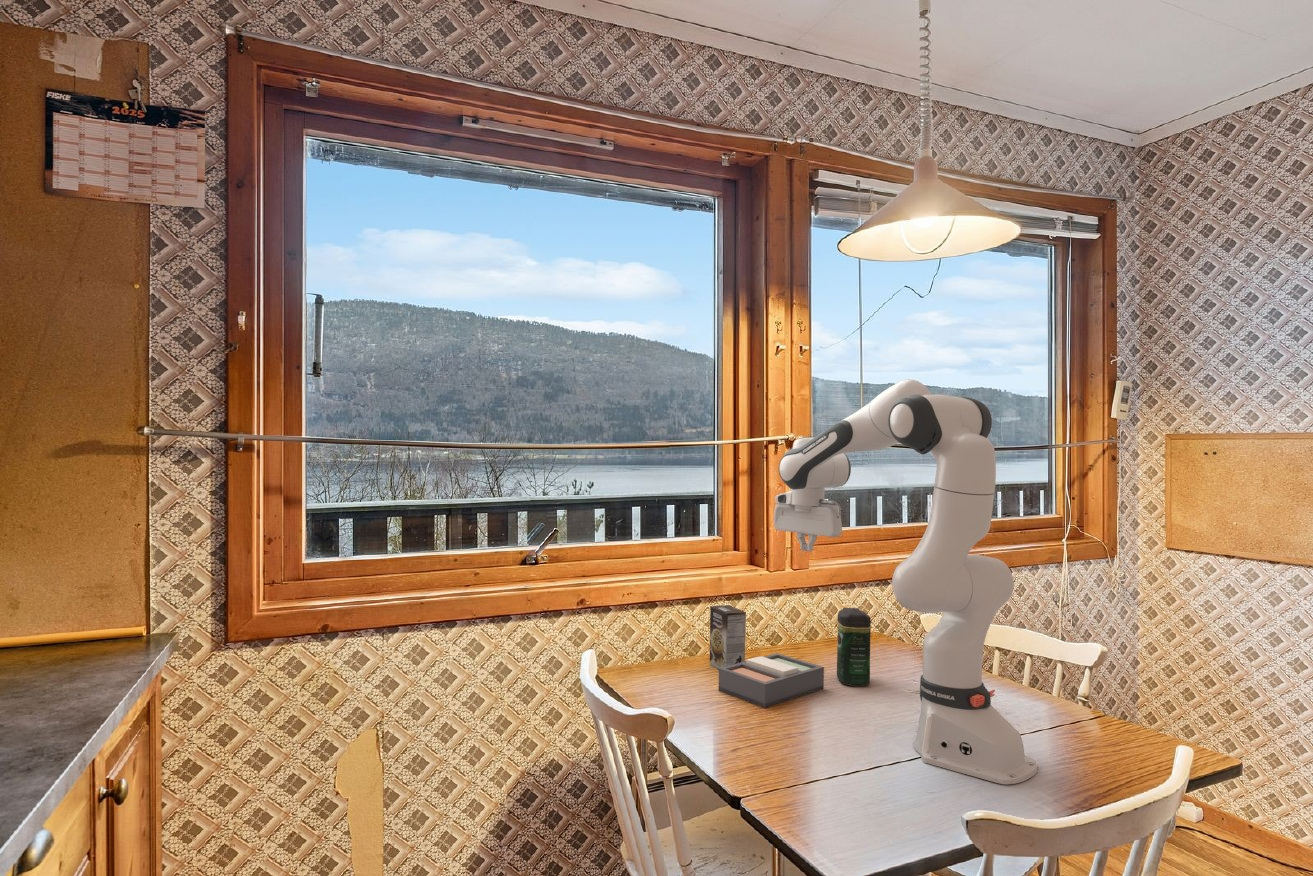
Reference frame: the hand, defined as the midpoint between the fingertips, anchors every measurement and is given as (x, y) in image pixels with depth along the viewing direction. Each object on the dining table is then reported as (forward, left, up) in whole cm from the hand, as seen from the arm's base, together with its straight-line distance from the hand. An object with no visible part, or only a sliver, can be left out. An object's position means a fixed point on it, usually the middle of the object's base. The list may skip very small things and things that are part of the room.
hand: (806, 550), depth 192 cm
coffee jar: (-10, -7, -33) cm, 36 cm away
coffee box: (+18, +11, -33) cm, 39 cm away
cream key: (-2, +15, -30) cm, 33 cm away
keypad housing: (-2, +15, -33) cm, 36 cm away
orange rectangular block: (-1, +22, -31) cm, 38 cm away
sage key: (-2, +8, -31) cm, 32 cm away
